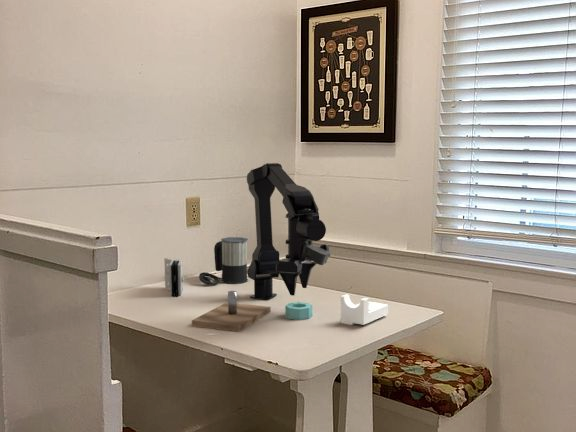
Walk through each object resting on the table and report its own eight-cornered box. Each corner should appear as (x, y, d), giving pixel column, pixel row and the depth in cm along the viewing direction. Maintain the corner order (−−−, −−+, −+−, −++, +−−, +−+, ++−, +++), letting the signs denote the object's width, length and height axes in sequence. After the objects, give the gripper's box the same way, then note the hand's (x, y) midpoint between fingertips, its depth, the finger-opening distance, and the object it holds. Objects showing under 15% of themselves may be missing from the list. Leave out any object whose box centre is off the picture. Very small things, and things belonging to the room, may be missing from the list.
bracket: (363, 328, 170) (363, 300, 169) (340, 323, 175) (340, 296, 174) (387, 317, 181) (388, 290, 180) (365, 313, 185) (366, 287, 184)
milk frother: (253, 279, 227) (252, 237, 225) (230, 289, 213) (230, 244, 211) (217, 276, 233) (217, 235, 231) (193, 285, 219) (192, 242, 217)
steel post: (230, 313, 180) (230, 290, 179) (238, 314, 179) (238, 291, 179) (226, 315, 178) (226, 292, 177) (234, 316, 177) (234, 293, 176)
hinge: (164, 287, 216) (164, 257, 215) (181, 286, 218) (180, 257, 216) (170, 297, 203) (169, 265, 202) (187, 296, 204) (187, 264, 203)
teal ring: (291, 311, 186) (291, 301, 185) (315, 314, 183) (315, 303, 183) (282, 318, 179) (282, 307, 179) (306, 320, 177) (306, 309, 176)
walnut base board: (226, 307, 191) (226, 302, 190) (270, 311, 185) (270, 306, 185) (191, 325, 172) (191, 320, 172) (239, 331, 167) (239, 325, 167)
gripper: (314, 242, 167) (314, 302, 169) (337, 232, 184) (336, 286, 186) (274, 240, 171) (275, 298, 173) (300, 230, 188) (300, 283, 190)
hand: (298, 291), depth 180 cm, fingers open, 9 cm apart
